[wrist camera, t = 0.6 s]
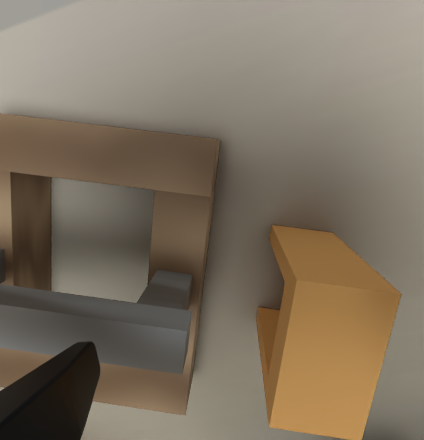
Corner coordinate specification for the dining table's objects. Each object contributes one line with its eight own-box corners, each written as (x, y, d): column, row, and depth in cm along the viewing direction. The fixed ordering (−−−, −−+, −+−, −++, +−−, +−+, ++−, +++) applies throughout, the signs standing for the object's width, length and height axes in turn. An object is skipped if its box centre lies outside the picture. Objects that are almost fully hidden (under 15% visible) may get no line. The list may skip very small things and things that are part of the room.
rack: (193, 372, 24) (167, 514, 15) (13, 345, 25) (-121, 465, 16) (220, 140, 20) (208, 135, 11) (5, 115, 21) (-180, 90, 12)
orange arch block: (312, 327, 23) (361, 441, 14) (256, 319, 23) (268, 427, 14) (332, 232, 21) (401, 294, 12) (271, 224, 21) (296, 280, 13)
